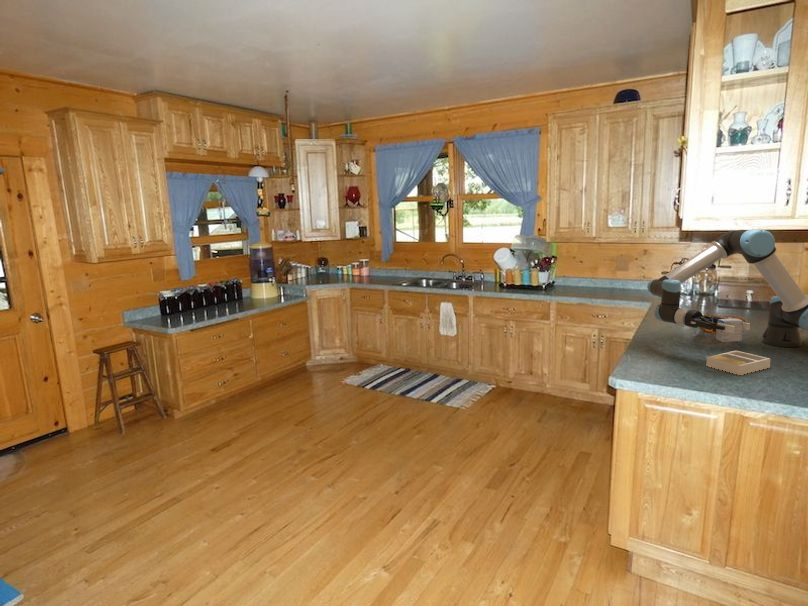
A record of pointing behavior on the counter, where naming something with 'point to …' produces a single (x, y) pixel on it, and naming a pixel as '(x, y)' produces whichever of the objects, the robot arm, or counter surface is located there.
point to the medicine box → (728, 336)
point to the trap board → (738, 362)
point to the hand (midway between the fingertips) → (741, 328)
